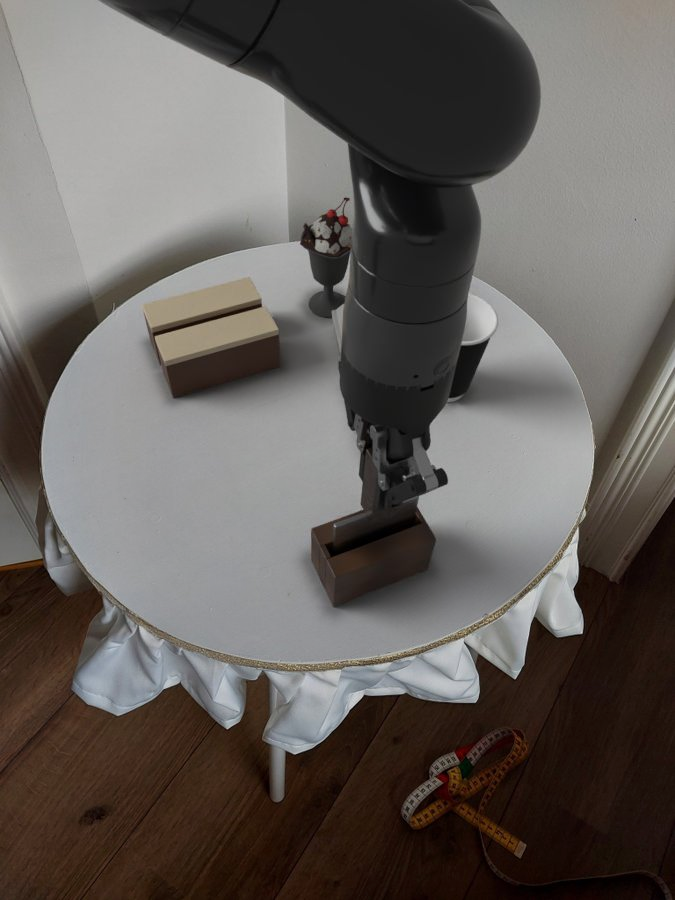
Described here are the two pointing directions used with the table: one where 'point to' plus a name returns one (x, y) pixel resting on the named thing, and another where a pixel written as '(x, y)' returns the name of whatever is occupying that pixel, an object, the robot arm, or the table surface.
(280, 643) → the table surface
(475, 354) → the dixie cup
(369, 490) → the knife
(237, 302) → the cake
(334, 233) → the sundae
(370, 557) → the knife stand
